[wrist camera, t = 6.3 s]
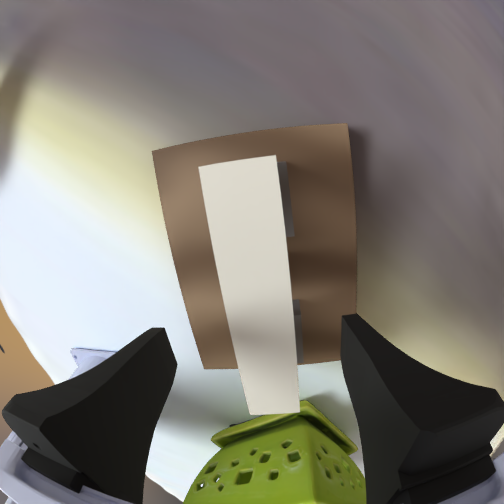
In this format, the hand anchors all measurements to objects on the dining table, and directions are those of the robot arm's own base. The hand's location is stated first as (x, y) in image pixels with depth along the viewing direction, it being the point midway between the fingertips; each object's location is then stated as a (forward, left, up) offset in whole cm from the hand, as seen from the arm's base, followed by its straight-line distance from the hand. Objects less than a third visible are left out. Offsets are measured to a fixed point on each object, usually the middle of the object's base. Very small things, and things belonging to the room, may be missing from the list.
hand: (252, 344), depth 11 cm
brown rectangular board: (0, 0, -9) cm, 9 cm away
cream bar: (0, 0, -6) cm, 6 cm away
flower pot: (-21, 0, -10) cm, 23 cm away
